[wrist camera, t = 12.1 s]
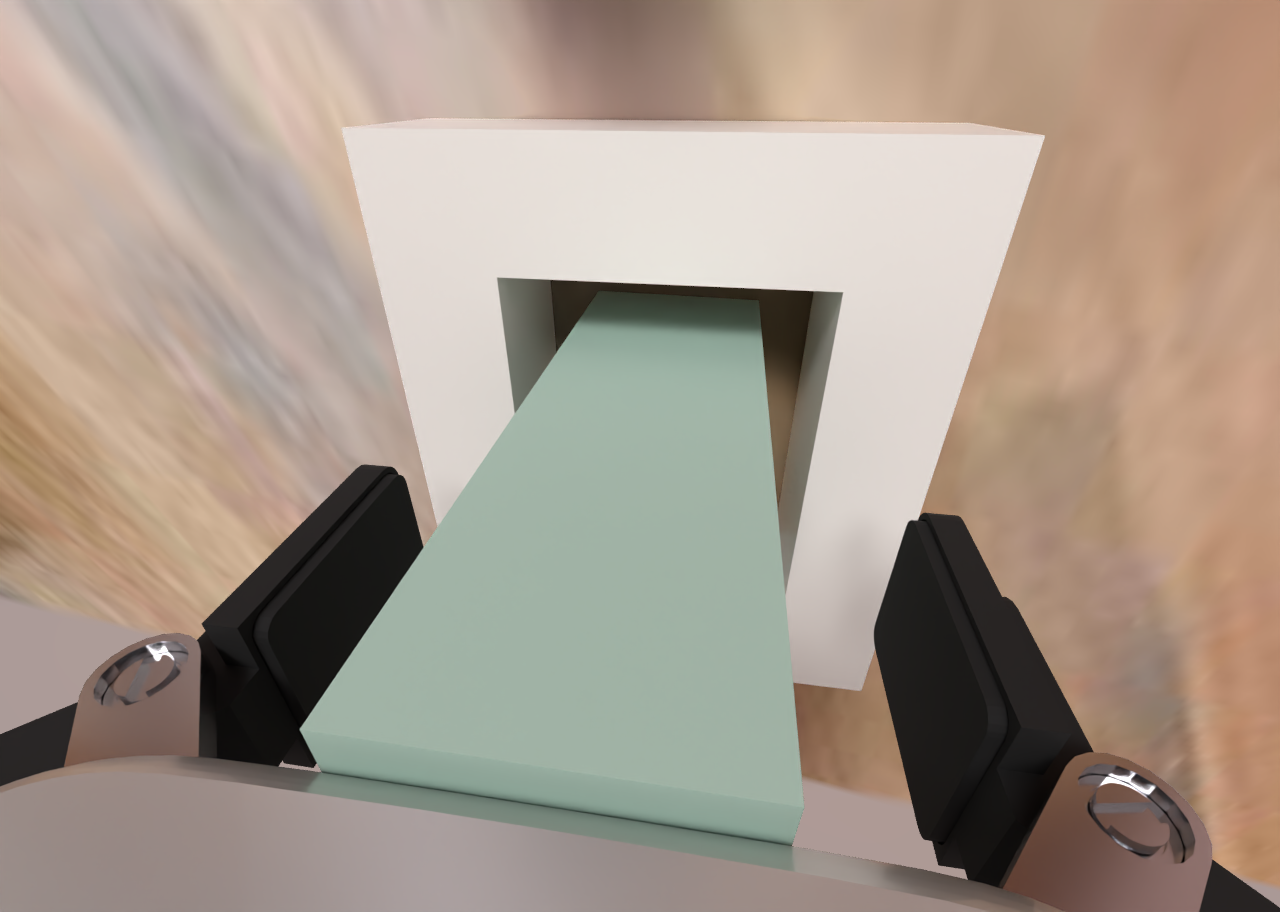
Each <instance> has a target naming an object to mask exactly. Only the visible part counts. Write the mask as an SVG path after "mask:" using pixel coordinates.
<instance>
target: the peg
mask: <svg viewBox="0 0 1280 912" xmlns="http://www.w3.org/2000/svg"><path fill="white" fill-rule="evenodd" d="M300 731H301V733H302V735H303V737H304V739H305V741H306V743H307V745H308V747H309V749H310V751H311V753H312V754H313V756H314V758H315V760H316V762H317V764H318V766H319V768H320V770H321V772H322V773H328V774H334V775H341V776H347V777H354V778H361V779H367V780H374V781H381V782H387V783H394V784H400V785H407V786H414V787H420V788H427V789H434V790H440V791H447V792H453V793H460V794H466V795H473V796H479V797H486V798H492V799H498V800H505V801H511V802H518V803H524V804H531V805H537V806H543V807H550V808H556V809H562V810H569V811H575V812H582V813H588V814H594V815H601V816H607V817H613V818H620V819H626V820H632V821H639V822H645V823H651V824H657V825H664V826H670V827H676V828H682V829H688V830H694V831H701V832H707V833H713V834H719V835H725V836H731V837H738V838H744V839H750V840H756V841H762V842H769V843H775V844H781V845H787V846H792V844H793V840H794V837H795V834H796V831H797V828H798V825H799V822H800V819H801V816H802V813H803V810H804V799H803V787H802V776H801V764H800V753H799V742H798V731H797V720H796V709H795V698H794V687H793V676H792V664H791V653H790V642H789V631H788V620H787V609H786V598H785V587H784V576H783V564H782V553H781V542H780V531H779V520H778V509H777V498H776V487H775V476H774V464H773V453H772V442H771V431H770V420H769V409H768V398H767V387H766V376H765V364H764V353H763V342H762V331H761V320H760V309H759V300H747V299H731V298H714V297H697V296H680V295H663V294H646V293H629V292H613V291H598V293H597V294H596V296H595V297H594V299H593V300H592V301H591V303H590V304H589V306H588V307H587V309H586V310H585V312H584V313H583V315H582V316H581V318H580V319H579V321H578V322H577V323H576V325H575V326H574V328H573V329H572V331H571V332H570V334H569V335H568V337H567V338H566V340H565V341H564V343H563V344H562V345H561V347H560V348H559V350H558V351H557V353H556V354H555V356H554V357H553V359H552V360H551V362H550V363H549V365H548V366H547V367H546V369H545V370H544V372H543V373H542V375H541V376H540V378H539V379H538V381H537V382H536V384H535V385H534V387H533V388H532V389H531V391H530V392H529V394H528V395H527V397H526V398H525V400H524V401H523V403H522V404H521V406H520V407H519V409H518V410H517V411H516V413H515V414H514V416H513V417H512V419H511V420H510V422H509V423H508V425H507V426H506V428H505V429H504V430H503V432H502V433H501V435H500V436H499V438H498V439H497V441H496V442H495V444H494V445H493V447H492V448H491V450H490V451H489V452H488V454H487V455H486V457H485V458H484V460H483V461H482V463H481V464H480V466H479V467H478V469H477V470H476V472H475V473H474V474H473V476H472V477H471V479H470V480H469V482H468V483H467V485H466V486H465V488H464V489H463V491H462V492H461V494H460V495H459V496H458V498H457V499H456V501H455V502H454V504H453V505H452V507H451V508H450V510H449V511H448V513H447V514H446V516H445V517H444V518H443V520H442V521H441V523H440V524H439V526H438V527H437V529H436V530H435V532H434V533H433V535H432V536H431V538H430V539H429V540H428V542H427V543H426V545H425V546H424V548H423V549H422V551H421V552H420V554H419V555H418V557H417V558H416V560H415V561H414V562H413V564H412V565H411V567H410V568H409V570H408V571H407V573H406V574H405V576H404V577H403V579H402V580H401V581H400V583H399V584H398V586H397V587H396V589H395V590H394V592H393V593H392V595H391V596H390V598H389V599H388V601H387V602H386V603H385V605H384V606H383V608H382V609H381V611H380V612H379V614H378V615H377V617H376V618H375V620H374V621H373V623H372V624H371V625H370V627H369V628H368V630H367V631H366V633H365V634H364V636H363V637H362V639H361V640H360V642H359V643H358V645H357V646H356V647H355V649H354V650H353V652H352V653H351V655H350V656H349V658H348V659H347V661H346V662H345V664H344V665H343V667H342V668H341V669H340V671H339V672H338V674H337V675H336V677H335V678H334V680H333V681H332V683H331V684H330V686H329V687H328V689H327V690H326V691H325V693H324V694H323V696H322V697H321V699H320V700H319V702H318V703H317V705H316V706H315V708H314V709H313V711H312V712H311V713H310V715H309V716H308V718H307V719H306V721H305V722H304V724H303V725H302V727H301V728H300Z"/></svg>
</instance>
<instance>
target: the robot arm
mask: <svg viewBox="0 0 1280 912" xmlns="http://www.w3.org/2000/svg"><path fill="white" fill-rule="evenodd" d="M423 548H424V547H423V544H422V540H421V536H420V532H419V528H418V525H417V521H416V517H415V513H414V510H413V506H412V502H411V498H410V494H409V491H408V487H407V483H406V480H405V478H404V477H403V476H401V475H398V472H397V471H396V470H395V468H393V467H387V466H375V465H361V466H359V467H358V468H357V469H356V470H355V471H354V472H353V473H352V474H351V475H350V476H349V477H348V478H347V479H346V480H345V481H344V482H343V483H342V484H341V485H340V486H339V487H338V488H337V489H336V490H335V491H334V492H333V493H332V494H331V495H330V496H329V497H328V498H327V499H326V500H325V501H324V502H323V503H322V504H321V505H320V506H319V507H318V508H317V509H316V510H315V511H314V512H313V513H312V514H311V515H310V516H309V517H308V518H307V519H306V520H305V521H304V522H303V523H302V524H301V525H300V526H299V527H298V528H297V529H296V530H295V531H294V532H293V533H292V534H291V535H290V536H289V537H288V538H287V539H286V540H285V541H284V542H283V543H282V544H281V545H280V546H279V547H278V548H277V549H276V550H275V551H274V552H273V553H272V554H271V555H270V556H269V557H268V558H267V559H266V560H265V561H264V562H263V563H262V564H261V565H260V566H259V567H258V568H257V569H256V570H255V571H254V572H253V573H252V574H251V575H250V576H249V577H248V578H247V579H246V580H245V581H244V582H243V583H242V584H241V585H240V586H239V587H238V588H237V589H236V590H235V591H234V592H233V593H232V594H231V595H230V596H229V597H228V598H227V599H226V600H225V601H224V602H223V603H222V604H221V605H220V606H219V607H218V608H217V609H216V610H215V611H214V612H213V613H212V614H211V615H210V616H209V617H208V618H207V619H206V620H205V621H204V622H203V623H202V625H203V627H204V629H205V630H206V631H205V632H204V634H203V635H202V636H201V637H200V638H199V639H198V640H195V639H194V638H193V637H192V636H189V635H185V634H180V633H174V634H162V635H158V636H155V637H151V638H147V639H144V640H142V641H140V642H137V643H135V644H133V645H130V646H128V647H127V648H125V649H123V650H122V651H120V652H118V653H117V654H115V655H113V656H112V657H110V658H109V659H108V660H107V661H105V662H104V663H103V664H102V665H101V666H99V667H98V668H97V669H96V670H95V671H94V672H93V674H92V675H91V676H90V677H89V679H88V680H87V681H86V682H85V684H84V687H83V689H82V691H81V693H80V696H79V700H78V702H77V703H75V704H72V705H70V706H67V707H65V708H63V709H60V710H58V711H56V712H53V713H51V714H48V715H46V716H44V717H41V718H39V719H36V720H34V721H31V722H29V723H27V724H24V725H22V726H19V727H17V728H15V729H12V730H10V731H7V732H5V733H2V734H0V912H1280V908H1279V907H1278V906H1277V905H1275V904H1274V903H1272V902H1271V901H1270V900H1268V899H1267V898H1265V897H1264V896H1263V895H1261V894H1260V893H1258V892H1257V891H1256V890H1254V889H1253V888H1251V887H1250V886H1249V885H1247V884H1246V883H1244V882H1243V881H1242V880H1240V879H1239V878H1237V877H1236V876H1235V875H1233V874H1232V873H1230V872H1229V871H1228V870H1226V869H1225V868H1223V867H1222V866H1221V865H1219V864H1218V863H1216V862H1215V861H1214V860H1212V843H1211V841H1210V838H1209V836H1208V833H1207V831H1206V828H1205V826H1204V824H1203V822H1202V821H1201V820H1200V818H1199V817H1198V815H1197V814H1196V813H1195V811H1194V810H1193V808H1192V807H1191V805H1190V804H1189V803H1188V802H1187V801H1186V800H1185V799H1184V798H1183V797H1182V796H1181V795H1180V794H1179V793H1178V792H1177V791H1176V790H1175V789H1174V788H1173V787H1172V786H1170V785H1169V784H1168V783H1166V782H1165V781H1163V780H1162V779H1161V778H1159V777H1158V776H1157V775H1155V774H1154V773H1152V772H1151V771H1150V770H1148V769H1146V768H1144V767H1142V766H1140V765H1138V764H1136V763H1134V762H1132V761H1130V760H1128V759H1125V758H1121V757H1118V756H1115V755H1111V754H1108V753H1094V752H1093V750H1092V748H1091V746H1090V744H1089V742H1088V740H1087V739H1086V737H1085V735H1084V733H1083V731H1082V729H1081V727H1080V725H1079V723H1078V722H1077V720H1076V718H1075V716H1074V714H1073V712H1072V710H1071V708H1070V706H1069V704H1068V703H1067V701H1066V699H1065V697H1064V695H1063V693H1062V691H1061V689H1060V687H1059V686H1058V684H1057V682H1056V680H1055V678H1054V676H1053V674H1052V672H1051V670H1050V669H1049V667H1048V665H1047V663H1046V661H1045V659H1044V657H1043V655H1042V653H1041V652H1040V650H1039V648H1038V646H1037V644H1036V642H1035V640H1034V638H1033V636H1032V635H1031V633H1030V631H1029V629H1028V627H1027V625H1026V623H1025V621H1024V619H1023V618H1022V616H1021V614H1020V612H1019V610H1018V608H1017V607H1016V606H1015V604H1014V603H1013V601H1011V600H1010V599H1008V598H1007V597H1002V596H1001V594H1000V592H999V590H998V588H997V586H996V584H995V582H994V580H993V578H992V576H991V574H990V572H989V570H988V568H987V567H986V565H985V563H984V561H983V559H982V557H981V555H980V553H979V551H978V549H977V547H976V545H975V543H974V541H973V539H972V537H971V535H970V533H969V531H968V529H967V527H966V525H965V523H964V521H963V520H962V519H961V517H959V516H955V515H944V514H932V513H923V514H921V516H920V517H919V519H918V521H917V520H910V521H909V522H908V524H907V526H906V529H905V532H904V535H903V538H902V541H901V544H900V547H899V551H898V554H897V557H896V560H895V563H894V566H893V569H892V572H891V576H890V579H889V582H888V585H887V588H886V591H885V594H884V597H883V601H882V604H881V607H880V610H879V613H878V616H877V619H876V622H875V626H874V645H875V649H876V654H877V658H878V662H879V666H880V670H881V675H882V679H883V683H884V687H885V691H886V695H887V700H888V704H889V708H890V712H891V716H892V721H893V725H894V729H895V733H896V737H897V741H898V746H899V750H900V754H901V758H902V762H903V767H904V771H905V775H906V779H907V783H908V788H909V792H910V796H911V800H912V804H913V808H914V813H915V817H916V821H917V825H918V828H919V832H920V834H921V836H922V838H923V839H924V840H929V841H932V842H933V846H934V850H935V854H936V858H937V862H938V865H940V866H946V867H953V868H960V869H965V871H966V875H967V878H968V880H966V879H962V878H958V877H953V876H949V875H944V874H940V873H936V872H932V871H927V870H923V869H917V868H912V867H906V866H901V865H895V864H889V863H884V862H878V861H873V860H867V859H862V858H856V857H850V856H845V855H839V854H834V853H828V852H823V851H817V850H811V849H805V848H799V847H793V846H787V845H781V844H775V843H769V842H762V841H756V840H750V839H744V838H738V837H731V836H725V835H719V834H713V833H707V832H701V831H694V830H688V829H682V828H676V827H670V826H664V825H657V824H651V823H645V822H639V821H632V820H626V819H620V818H613V817H607V816H601V815H594V814H588V813H582V812H575V811H569V810H562V809H556V808H550V807H543V806H537V805H531V804H524V803H518V802H511V801H505V800H498V799H492V798H486V797H479V796H473V795H466V794H460V793H453V792H447V791H440V790H434V789H427V788H420V787H414V786H407V785H400V784H394V783H387V782H381V781H374V780H367V779H361V778H354V777H347V776H341V775H334V774H328V773H321V772H314V771H308V770H300V769H292V768H285V767H278V766H279V765H280V763H281V762H282V760H283V762H284V763H286V764H292V765H298V766H305V767H311V768H314V766H315V765H316V763H317V762H316V760H315V758H314V756H313V754H312V753H311V751H310V749H309V747H308V745H307V743H306V741H305V739H304V737H303V735H302V733H301V731H300V728H301V727H302V725H303V724H304V722H305V721H306V719H307V718H308V716H309V715H310V713H311V712H312V711H313V709H314V708H315V706H316V705H317V703H318V702H319V700H320V699H321V697H322V696H323V694H324V693H325V691H326V690H327V689H328V687H329V686H330V684H331V683H332V681H333V680H334V678H335V677H336V675H337V674H338V672H339V671H340V669H341V668H342V667H343V665H344V664H345V662H346V661H347V659H348V658H349V656H350V655H351V653H352V652H353V650H354V649H355V647H356V646H357V645H358V643H359V642H360V640H361V639H362V637H363V636H364V634H365V633H366V631H367V630H368V628H369V627H370V625H371V624H372V623H373V621H374V620H375V618H376V617H377V615H378V614H379V612H380V611H381V609H382V608H383V606H384V605H385V603H386V602H387V601H388V599H389V598H390V596H391V595H392V593H393V592H394V590H395V589H396V587H397V586H398V584H399V583H400V581H401V580H402V579H403V577H404V576H405V574H406V573H407V571H408V570H409V568H410V567H411V565H412V564H413V562H414V561H415V560H416V558H417V557H418V555H419V554H420V552H421V551H422V549H423Z"/></svg>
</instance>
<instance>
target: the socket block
mask: <svg viewBox="0 0 1280 912" xmlns="http://www.w3.org/2000/svg"><path fill="white" fill-rule="evenodd" d="M341 129H342V133H343V137H344V141H345V145H346V149H347V154H348V158H349V162H350V166H351V170H352V174H353V178H354V183H355V187H356V191H357V195H358V199H359V203H360V207H361V212H362V216H363V220H364V224H365V228H366V232H367V236H368V241H369V245H370V249H371V253H372V257H373V261H374V265H375V270H376V274H377V278H378V282H379V286H380V290H381V294H382V299H383V303H384V307H385V311H386V315H387V319H388V323H389V328H390V332H391V336H392V340H393V344H394V348H395V352H396V357H397V361H398V365H399V369H400V373H401V377H402V381H403V386H404V390H405V394H406V398H407V402H408V406H409V410H410V415H411V419H412V423H413V427H414V431H415V435H416V439H417V444H418V448H419V452H420V456H421V460H422V464H423V468H424V473H425V477H426V481H427V485H428V489H429V493H430V497H431V502H432V506H433V510H434V514H435V518H436V522H437V526H439V524H440V523H441V521H442V520H443V518H444V517H445V516H446V514H447V513H448V511H449V510H450V508H451V507H452V505H453V504H454V502H455V501H456V499H457V498H458V496H459V495H460V494H461V492H462V491H463V489H464V488H465V486H466V485H467V483H468V482H469V480H470V479H471V477H472V476H473V474H474V473H475V472H476V470H477V469H478V467H479V466H480V464H481V463H482V461H483V460H484V458H485V457H486V455H487V454H488V452H489V451H490V450H491V448H492V447H493V445H494V444H495V442H496V441H497V439H498V438H499V436H500V435H501V433H502V432H503V430H504V429H505V428H506V426H507V425H508V423H509V422H510V420H511V419H512V417H513V416H514V414H515V413H516V411H517V410H518V409H519V407H520V406H521V404H522V403H523V401H524V400H525V398H526V397H527V395H528V394H529V392H530V391H531V389H532V388H533V387H534V385H535V384H536V382H537V381H538V379H539V378H540V376H541V375H542V373H543V372H544V370H545V369H546V367H547V366H548V365H549V363H550V362H551V360H552V359H553V357H554V356H555V354H556V341H555V328H554V316H553V304H552V292H551V280H569V281H592V282H616V283H639V284H662V285H685V286H709V287H732V288H755V289H778V290H801V291H814V293H813V299H812V305H811V311H810V317H809V323H808V329H807V336H806V342H805V348H804V354H803V360H802V366H801V372H800V378H799V385H798V391H797V397H796V403H795V409H794V415H793V421H792V427H791V434H790V440H789V446H788V452H787V458H786V464H785V470H784V477H783V483H782V489H781V495H780V501H779V507H778V520H779V531H780V542H781V553H782V564H783V576H784V587H785V598H786V609H787V620H788V631H789V642H790V653H791V664H792V676H793V683H800V684H808V685H816V686H824V687H832V688H840V689H848V690H856V691H861V690H862V687H863V684H864V681H865V678H866V675H867V672H868V669H869V666H870V663H871V660H872V657H873V654H874V651H875V645H874V626H875V622H876V619H877V616H878V613H879V610H880V607H881V604H882V601H883V597H884V594H885V591H886V588H887V585H888V582H889V579H890V576H891V572H892V569H893V566H894V563H895V560H896V557H897V554H898V551H899V547H900V544H901V541H902V538H903V535H904V532H905V529H906V526H907V524H908V522H909V521H910V520H917V521H918V518H919V515H920V512H921V509H922V506H923V503H924V500H925V497H926V494H927V491H928V488H929V485H930V482H931V479H932V476H933V473H934V470H935V467H936V464H937V460H938V457H939V454H940V451H941V448H942V445H943V442H944V439H945V436H946V433H947V430H948V427H949V424H950V421H951V418H952V415H953V412H954V409H955V406H956V403H957V400H958V397H959V394H960V391H961V388H962V385H963V382H964V379H965V376H966V373H967V370H968V367H969V364H970V361H971V358H972V355H973V352H974V349H975V346H976V343H977V340H978V337H979V334H980V331H981V328H982V325H983V322H984V319H985V316H986V313H987V310H988V307H989V303H990V300H991V297H992V294H993V291H994V288H995V285H996V282H997V279H998V276H999V273H1000V270H1001V267H1002V264H1003V261H1004V258H1005V255H1006V252H1007V249H1008V246H1009V243H1010V240H1011V237H1012V234H1013V231H1014V228H1015V225H1016V222H1017V219H1018V216H1019V213H1020V210H1021V207H1022V204H1023V201H1024V198H1025V195H1026V192H1027V189H1028V186H1029V183H1030V180H1031V177H1032V174H1033V171H1034V168H1035V165H1036V162H1037V159H1038V156H1039V153H1040V150H1041V146H1042V143H1043V140H1044V137H1045V135H1039V134H1033V133H1027V132H1021V131H1015V130H1009V129H1003V128H997V127H991V126H985V125H979V124H973V123H932V122H815V121H699V120H582V119H465V118H427V119H418V120H409V121H400V122H391V123H382V124H372V125H363V126H354V127H345V128H341Z"/></svg>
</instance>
